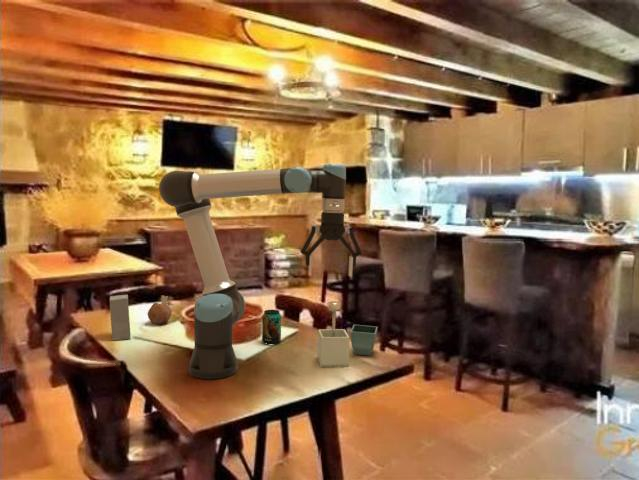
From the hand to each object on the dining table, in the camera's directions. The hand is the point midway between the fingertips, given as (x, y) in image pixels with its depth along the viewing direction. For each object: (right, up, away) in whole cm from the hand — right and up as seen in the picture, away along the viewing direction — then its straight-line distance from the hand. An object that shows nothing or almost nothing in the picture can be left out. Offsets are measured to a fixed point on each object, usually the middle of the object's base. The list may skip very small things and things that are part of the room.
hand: (330, 275), depth 159 cm
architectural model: (-75, -22, +64) cm, 101 cm away
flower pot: (+12, -29, +12) cm, 34 cm away
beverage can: (-22, -27, +21) cm, 41 cm away
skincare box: (-79, -25, +23) cm, 86 cm away
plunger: (+1, -27, +2) cm, 27 cm away
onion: (-71, -24, +42) cm, 86 cm away
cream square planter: (+1, -29, +2) cm, 29 cm away
